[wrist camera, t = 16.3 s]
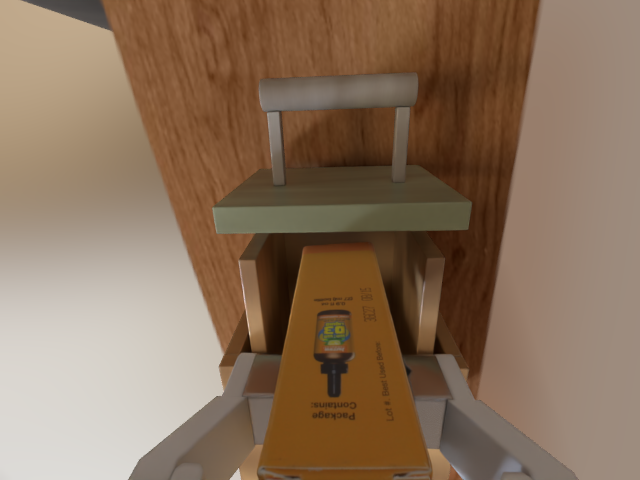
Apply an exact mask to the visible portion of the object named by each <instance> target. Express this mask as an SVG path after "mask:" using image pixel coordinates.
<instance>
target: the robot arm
mask: <svg viewBox="0 0 640 480" xmlns="http://www.w3.org/2000/svg"><path fill="white" fill-rule="evenodd" d="M281 358H282V354H277V353H241V354H240V355H239V356H238V357H237V360H236V362H235V365H234V367H233V370H232V372H231V375H230V377H229V380H228V382H227V385H226V387H225V390H224V393H223V395H222V396H217V397H215V398H214V399H213V400H212V401H210V402H209V403H208V404H207V405H206V406H204V407H203V408H202V409H201V410H199V411H198V412H197V413H196V414H195V415H193V416H192V417H191V418H190V419H189V420H187V421H186V422H185V423H184V424H182V425H181V426H180V427H179V428H177V429H176V430H175V431H174V432H173V433H171V434H170V435H169V436H168V437H166V438H165V439H164V440H163V441H162V442H160V443H159V444H158V445H157V446H156V447H154V448H153V449H152V450H151V451H149V452H148V453H147V454H146V455H145V456H143V457H142V458H141V459H140V460H139V461H138V463H137V465H136V467H135V468H134V470H133V472H132V474H131V476H130V477H129V479H128V480H229V479H230V478H231V477H232V476H233V474H234V473H235V472H236V470H237V469H238V468H239V467H240V465H241V464H242V463H243V462H244V460H245V459H246V458H247V456H248V455H249V454H250V453H251V451H252V450H253V449H254V447H255V445H263V444H264V439H265V435H266V431H267V427H268V423H269V418H270V413H271V408H272V403H273V399H274V394H275V389H276V384H277V379H278V374H279V368H280V363H281ZM402 359H403V363H404V366H405V369H406V373H407V377H408V381H409V384H410V388H411V391H412V395H413V399H414V402H415V406H416V410H417V413H418V417H419V421H420V425H421V428H422V432H423V436H424V439H425V442H426V446H427V449H440V452H441V453H442V454H443V456H444V457H445V458H446V459H447V460H448V462H449V463H450V464H451V465H452V467H453V468H454V469H455V470H456V471H457V473H458V474H459V475H460V476H461V477H462V479H463V480H578V478H577V477H576V475H575V474H574V472H572V471H571V470H570V469H568V468H567V467H566V466H565V465H563V464H562V463H561V462H559V461H558V460H557V459H556V458H554V457H553V456H552V455H550V454H549V453H548V452H547V451H545V450H544V449H543V448H541V447H540V446H539V445H538V444H536V443H535V442H533V441H532V440H531V439H530V438H529V437H527V436H526V435H525V434H523V433H522V432H521V431H519V430H518V429H517V428H516V427H514V426H513V425H512V424H510V423H509V422H508V421H506V420H505V419H504V418H503V417H501V416H500V415H499V414H498V413H496V412H495V411H494V410H492V409H491V408H490V407H489V406H487V405H486V404H485V403H483V402H482V401H481V400H475V399H474V397H473V395H472V393H471V391H470V389H469V387H468V385H467V383H466V381H465V379H464V376H463V374H462V372H461V370H460V368H459V366H458V364H457V362H456V360H455V358H454V356H453V355H452V354H434V355H402Z"/></svg>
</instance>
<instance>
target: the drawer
mask: <svg viewBox="0 0 640 480" xmlns="http://www.w3.org/2000/svg"><path fill="white" fill-rule="evenodd" d="M417 95H418V75H417V73H416V72H411V73H388V74H364V75H340V76H316V77H293V78H269V79H260V82H259V97H260V103H261V107H262V110H263V111H264V112H267V117H268V128H269V139H270V150H271V161H272V169H259V170H258V171H257V172H256V173H254V174H253V175H252V176H251V177H249V178H248V179H247V180H246V181H244V182H243V183H242V184H241V185H239V186H238V187H237V188H236V189H234V190H233V191H232V192H231V193H229V194H228V195H227V196H226V197H225V198H223V199H222V200H221V201H220V202H218V203H217V204H216V205H215V206H213V208H212V209H213V215H214V221H215V227H216V233H217V234H234V233H256V234H255V235H254V237H253V238H252V240H251V241H250V243H249V245H248V246H247V248H246V249H245V251H244V252H243V254H242V255H241V257H240V259H239V268H240V274H241V281H242V288H243V295H244V302H245V309H246V316H247V322H248V329H249V336H250V343H251V350H252V353H277V354H283V349H284V344H285V338H286V334H287V329H288V324H289V318H290V314H291V309H292V304H293V299H294V294H295V289H296V284H297V279H298V274H299V269H300V264H301V259H302V253H303V248H304V247H305V246H313V245H327V244H339V243H356V242H371V243H372V244H373V245H374V248H375V253H376V257H377V261H378V265H379V270H380V274H381V277H382V281H383V285H384V289H385V293H386V297H387V301H388V305H389V309H390V312H391V316H392V320H393V323H394V328H395V332H396V335H397V339H398V343H399V347H400V351H401V355H433V349H434V342H435V334H436V326H437V318H438V311H439V303H440V295H441V287H442V279H443V272H444V264H445V257H444V256H443V254H442V253H441V252H440V250H439V249H438V247H437V246H436V245H435V243H434V242H433V241H432V239H431V238H430V236H429V235H428V234H427V232H426V231H438V230H468V227H469V221H470V214H471V208H472V202H471V201H470V200H468V199H467V198H465V197H464V196H462V195H461V194H460V193H458V192H457V191H455V190H454V189H452V188H451V187H450V186H448V185H447V184H445V183H444V182H442V181H441V180H439V179H438V178H437V177H435V176H434V175H432V174H431V173H429V172H428V171H427V170H425V169H424V168H422V167H421V166H419V165H406V162H407V148H408V133H409V119H410V107H411V106H414V105H415V103H416V100H417ZM383 107H396V108H395V121H394V140H393V159H392V166H357V167H318V168H286V167H285V153H284V140H283V126H282V113H281V111H301V110H328V109H356V108H383Z"/></svg>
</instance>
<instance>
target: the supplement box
mask: <svg viewBox="0 0 640 480" xmlns="http://www.w3.org/2000/svg"><path fill="white" fill-rule="evenodd" d="M257 476H258V479H259V480H432V476H433V469H432V463H431V460H430V456H429V452H428V449H427V446H426V442H425V439H424V436H423V432H422V428H421V425H420V421H419V417H418V413H417V410H416V406H415V402H414V399H413V395H412V391H411V388H410V384H409V381H408V377H407V373H406V369H405V366H404V363H403V359H402V355H401V351H400V347H399V343H398V339H397V335H396V332H395V328H394V323H393V320H392V316H391V312H390V309H389V305H388V301H387V297H386V293H385V289H384V285H383V281H382V277H381V274H380V270H379V265H378V261H377V257H376V253H375V248H374V245H373V244H372V243H371V242H356V243H339V244H327V245H313V246H305V247H304V248H303V253H302V259H301V264H300V269H299V274H298V279H297V284H296V289H295V294H294V299H293V304H292V309H291V314H290V318H289V324H288V329H287V334H286V338H285V344H284V349H283V354H282V358H281V363H280V368H279V374H278V379H277V384H276V389H275V394H274V399H273V403H272V408H271V413H270V418H269V423H268V427H267V431H266V435H265V439H264V444H263V448H262V451H261V455H260V459H259V464H258V468H257Z"/></svg>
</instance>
